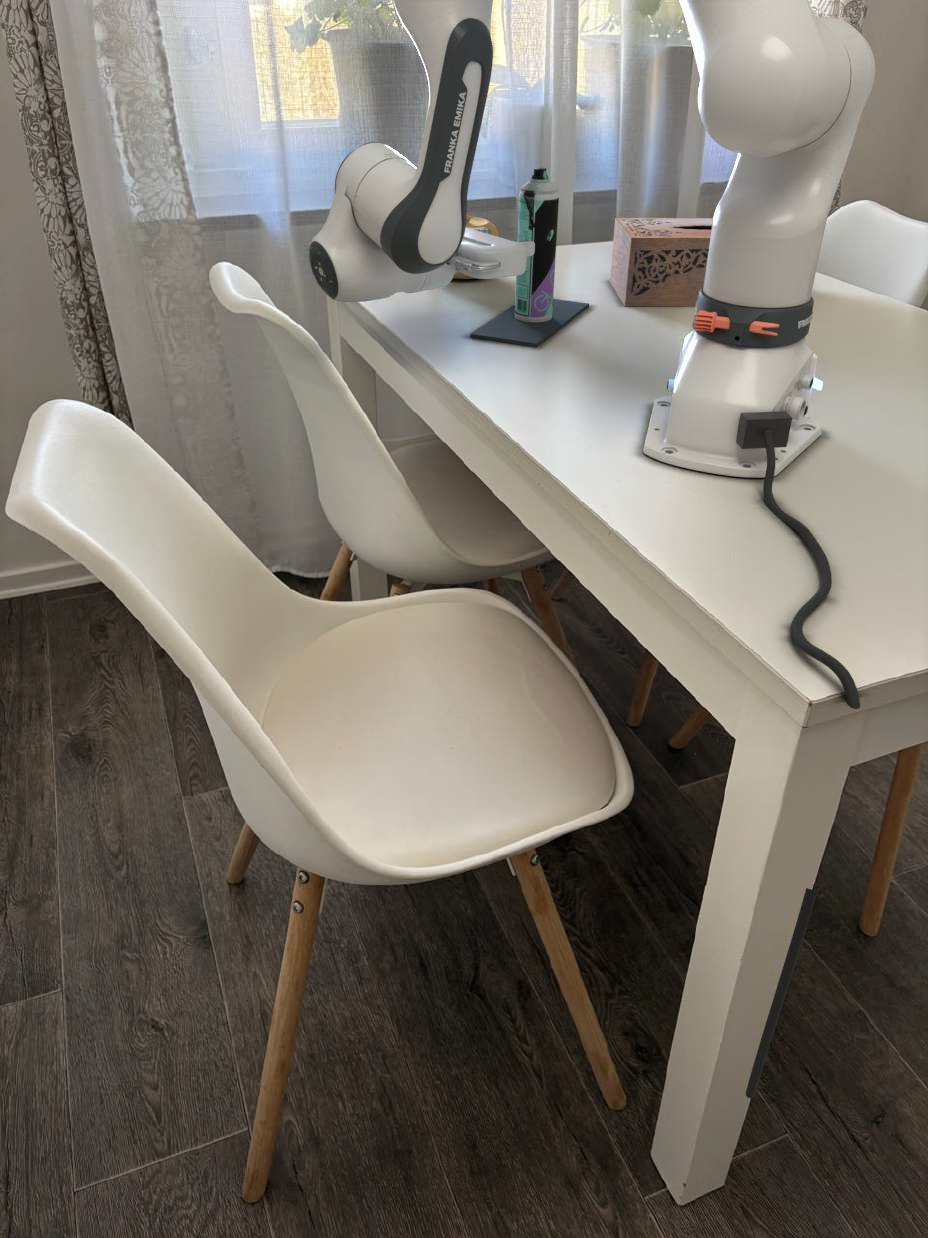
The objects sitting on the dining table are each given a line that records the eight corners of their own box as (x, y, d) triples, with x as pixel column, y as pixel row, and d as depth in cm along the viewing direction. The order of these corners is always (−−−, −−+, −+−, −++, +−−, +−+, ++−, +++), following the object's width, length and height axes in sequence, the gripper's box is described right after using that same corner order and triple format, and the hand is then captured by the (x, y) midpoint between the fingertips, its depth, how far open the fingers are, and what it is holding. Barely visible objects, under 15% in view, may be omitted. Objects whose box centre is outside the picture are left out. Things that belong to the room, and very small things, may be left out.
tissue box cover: (763, 281, 162) (774, 217, 157) (790, 305, 150) (803, 237, 145) (609, 281, 161) (615, 217, 156) (624, 306, 149) (631, 237, 144)
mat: (536, 347, 132) (536, 343, 132) (469, 337, 136) (469, 333, 135) (589, 306, 149) (589, 303, 149) (528, 298, 152) (528, 295, 152)
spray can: (549, 323, 140) (558, 172, 129) (511, 320, 141) (517, 170, 130) (554, 312, 144) (562, 165, 133) (517, 310, 145) (523, 164, 134)
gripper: (475, 243, 118) (561, 229, 125) (383, 215, 132) (465, 204, 139) (474, 296, 122) (557, 280, 129) (385, 263, 135) (465, 250, 142)
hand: (509, 240), depth 134 cm, fingers open, 8 cm apart
